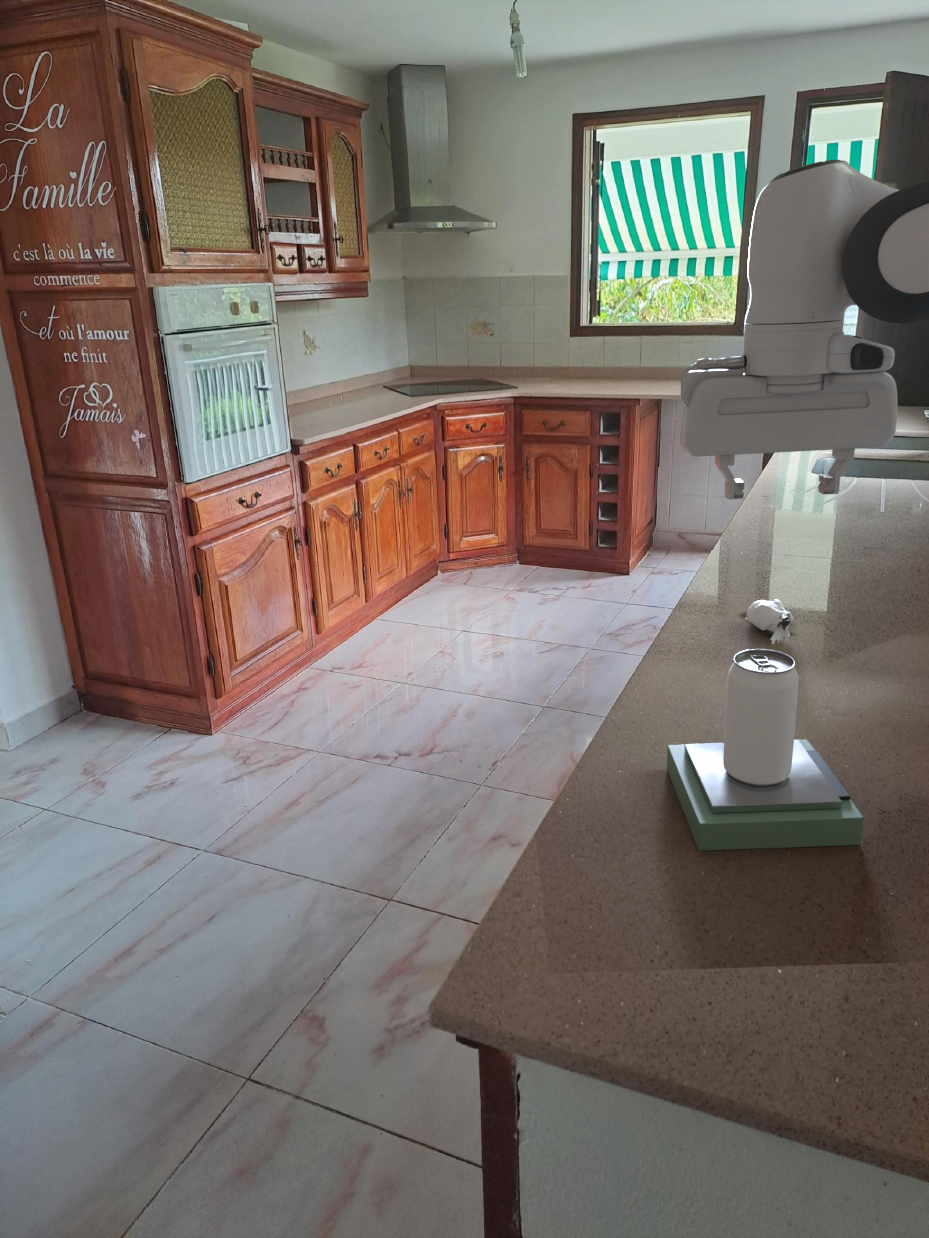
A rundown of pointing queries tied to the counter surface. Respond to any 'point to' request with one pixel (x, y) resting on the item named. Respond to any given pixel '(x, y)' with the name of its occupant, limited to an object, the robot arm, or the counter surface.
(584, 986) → the counter surface
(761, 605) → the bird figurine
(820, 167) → the robot arm
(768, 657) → the can
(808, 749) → the scale
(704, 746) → the scale pan
